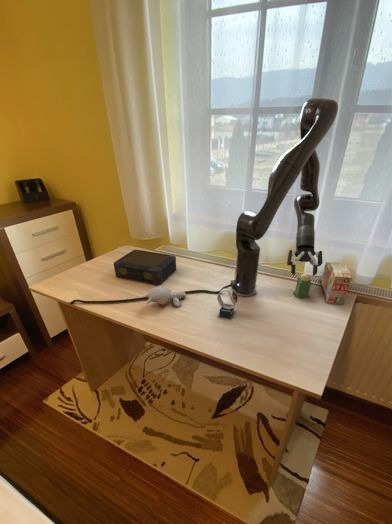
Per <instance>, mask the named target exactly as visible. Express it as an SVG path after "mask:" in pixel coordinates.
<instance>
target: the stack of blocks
mask: <svg viewBox="0 0 392 524" xmlns="http://www.w3.org/2000/svg"><path fill="white" fill-rule="evenodd" d="M352 279H353V276H352V273H351V271H350V269H349V268H348V266H347V264H343V263H342V264H341V262H332V261H331V262H330V261H325V264H324V267H323V272H322V276H321V280H320V281H321V285H322V289H323V292H324V296H325V301H326V303H327V304H334V305H335V304H336V305H343V303H344V301H345V298H346V295H347V292H348V290H349V288H350V284H351V282H352Z"/></svg>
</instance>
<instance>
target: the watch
mask: <svg viewBox="0 0 392 524" xmlns="http://www.w3.org/2000/svg"><path fill="white" fill-rule="evenodd" d="M221 289H222V288H221ZM221 289H220V290H221ZM220 290H219V291H220ZM223 292H227V293H228V296H229V299H230V301H231V303H233V304H229V303H226V302H225V303H224V301H223V298H222V296H221V294H222V293H223ZM216 299H217V303H218V304H219V306H220V309H219V315H218V316H219V318H223V319H228V320H231V317H232V316H233V315H234V312H235V307H236V305H237V304H238V302H239V295H237V293H236V291H235V290H232V288H231V287H228V288H224V289H222V290H221V291H220V292H219V293H218V294H217V297H216Z"/></svg>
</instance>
